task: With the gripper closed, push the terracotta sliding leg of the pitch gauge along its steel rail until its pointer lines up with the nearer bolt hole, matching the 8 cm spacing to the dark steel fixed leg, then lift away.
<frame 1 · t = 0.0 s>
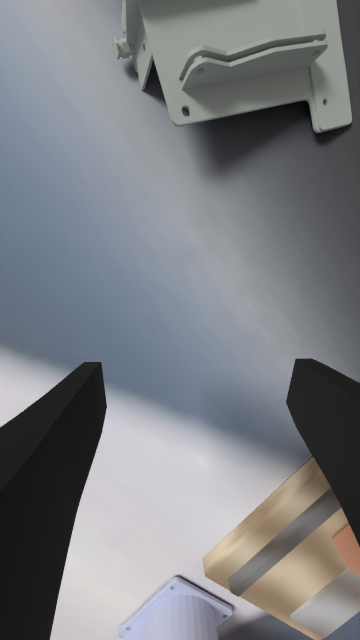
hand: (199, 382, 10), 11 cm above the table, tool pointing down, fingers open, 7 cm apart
metal bracket: (229, 29, 17), on the table
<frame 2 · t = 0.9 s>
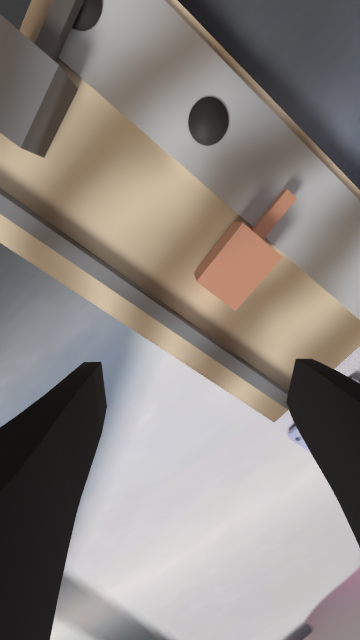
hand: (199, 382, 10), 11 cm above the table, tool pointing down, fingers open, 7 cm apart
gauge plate: (204, 240, 19), on the table
sliding leg: (251, 245, 16), point 3 cm above the table, slide at 0.0 cm
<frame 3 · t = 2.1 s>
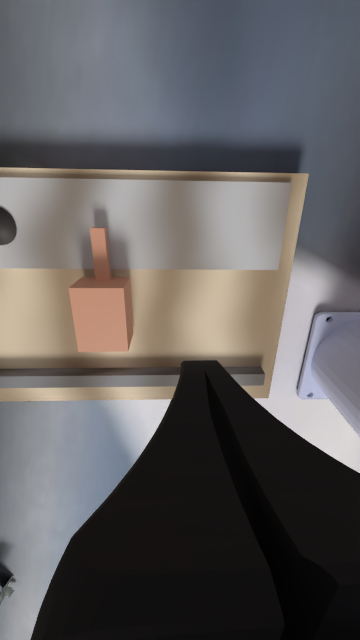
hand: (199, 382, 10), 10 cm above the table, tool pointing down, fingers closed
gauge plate: (86, 297, 19), on the table
sliding leg: (102, 290, 16), point 3 cm above the table, slide at 0.0 cm
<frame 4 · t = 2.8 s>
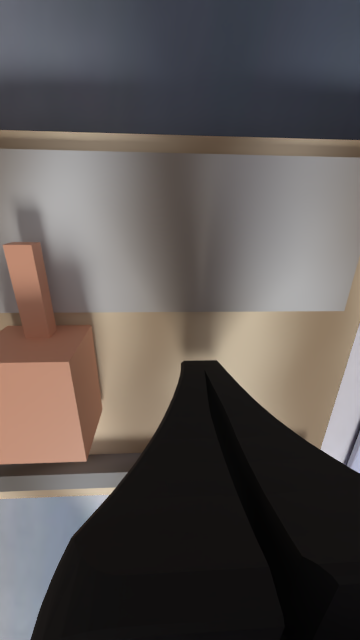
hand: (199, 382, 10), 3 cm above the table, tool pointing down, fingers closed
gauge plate: (28, 349, 12), on the table
sliding leg: (37, 354, 9), point 3 cm above the table, slide at 0.0 cm
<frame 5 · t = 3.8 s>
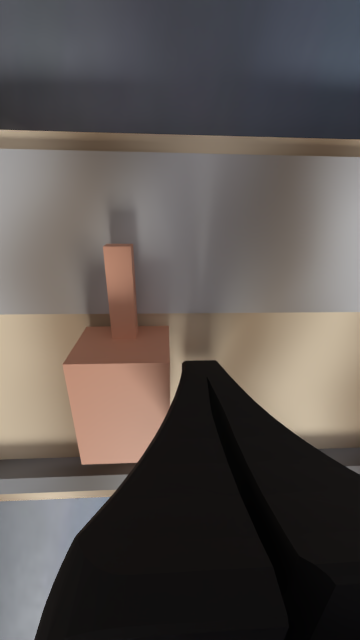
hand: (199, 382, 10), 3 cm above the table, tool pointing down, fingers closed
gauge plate: (105, 349, 12), on the table
sliding leg: (124, 355, 9), point 3 cm above the table, slide at 0.6 cm, touching gripper
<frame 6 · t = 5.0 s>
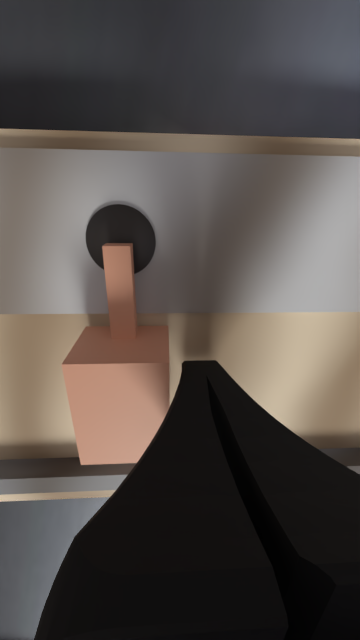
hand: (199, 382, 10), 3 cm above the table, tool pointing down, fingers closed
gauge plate: (221, 347, 12), on the table
sliding leg: (123, 355, 9), point 3 cm above the table, slide at 6.0 cm, touching gripper
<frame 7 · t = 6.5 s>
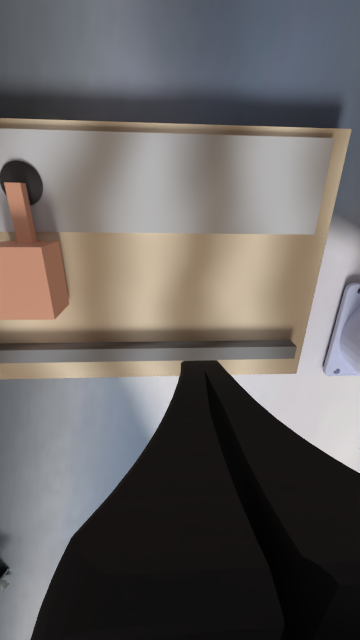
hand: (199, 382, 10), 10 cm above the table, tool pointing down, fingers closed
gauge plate: (110, 267, 18), on the table
sliding leg: (24, 253, 15), point 3 cm above the table, slide at 6.0 cm
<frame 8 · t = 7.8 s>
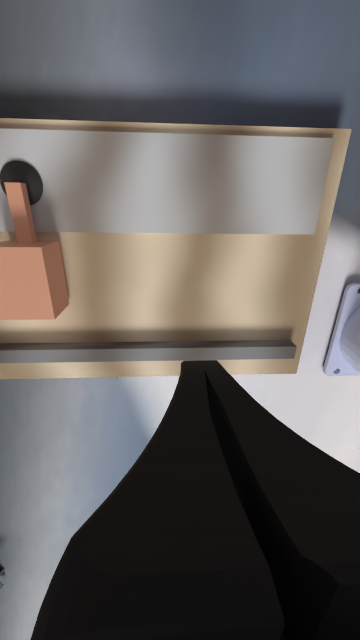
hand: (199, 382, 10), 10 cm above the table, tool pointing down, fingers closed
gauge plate: (110, 267, 18), on the table
sliding leg: (24, 252, 15), point 3 cm above the table, slide at 6.0 cm
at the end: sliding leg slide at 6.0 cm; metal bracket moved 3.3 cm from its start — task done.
